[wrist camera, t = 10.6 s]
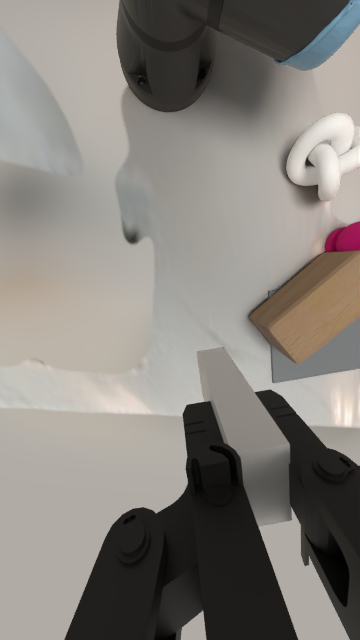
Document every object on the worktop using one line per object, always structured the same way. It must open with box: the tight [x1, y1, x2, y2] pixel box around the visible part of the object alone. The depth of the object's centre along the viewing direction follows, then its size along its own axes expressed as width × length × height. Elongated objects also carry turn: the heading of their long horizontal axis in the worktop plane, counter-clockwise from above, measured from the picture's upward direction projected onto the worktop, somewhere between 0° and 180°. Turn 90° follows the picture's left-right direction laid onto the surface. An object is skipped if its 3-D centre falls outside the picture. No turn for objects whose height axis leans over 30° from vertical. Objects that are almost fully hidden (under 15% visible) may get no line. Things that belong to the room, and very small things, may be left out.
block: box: [250, 250, 360, 364], centre depth 42 cm, size 10×10×20 cm
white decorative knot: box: [286, 113, 360, 201], centre depth 37 cm, size 11×12×9 cm
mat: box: [268, 289, 360, 383], centre depth 49 cm, size 22×22×1 cm
